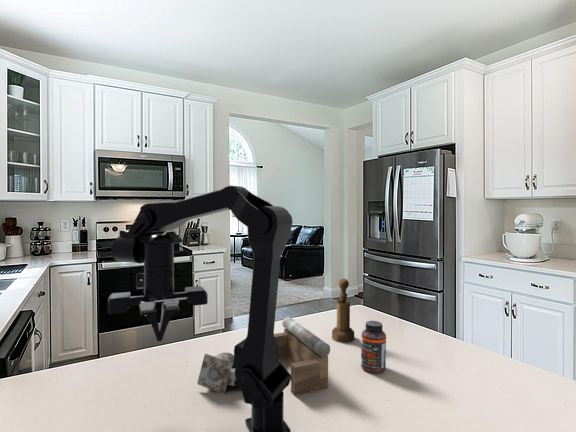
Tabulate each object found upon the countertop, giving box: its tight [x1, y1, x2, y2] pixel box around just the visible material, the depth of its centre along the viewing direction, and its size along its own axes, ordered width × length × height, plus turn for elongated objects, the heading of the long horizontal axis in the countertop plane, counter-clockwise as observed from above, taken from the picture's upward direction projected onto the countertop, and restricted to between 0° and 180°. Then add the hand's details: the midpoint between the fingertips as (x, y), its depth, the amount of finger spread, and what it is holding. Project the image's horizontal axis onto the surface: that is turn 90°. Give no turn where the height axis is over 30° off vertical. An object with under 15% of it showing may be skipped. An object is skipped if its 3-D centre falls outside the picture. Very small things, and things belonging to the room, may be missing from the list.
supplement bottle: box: [360, 320, 387, 374], centre depth 87 cm, size 6×6×11 cm
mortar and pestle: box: [331, 278, 355, 343], centre depth 107 cm, size 7×6×18 cm
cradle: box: [274, 316, 331, 397], centre depth 85 cm, size 20×8×10 cm, turn 23°
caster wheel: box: [197, 352, 240, 395], centre depth 80 cm, size 7×11×10 cm
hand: (159, 340), depth 73 cm, fingers closed
